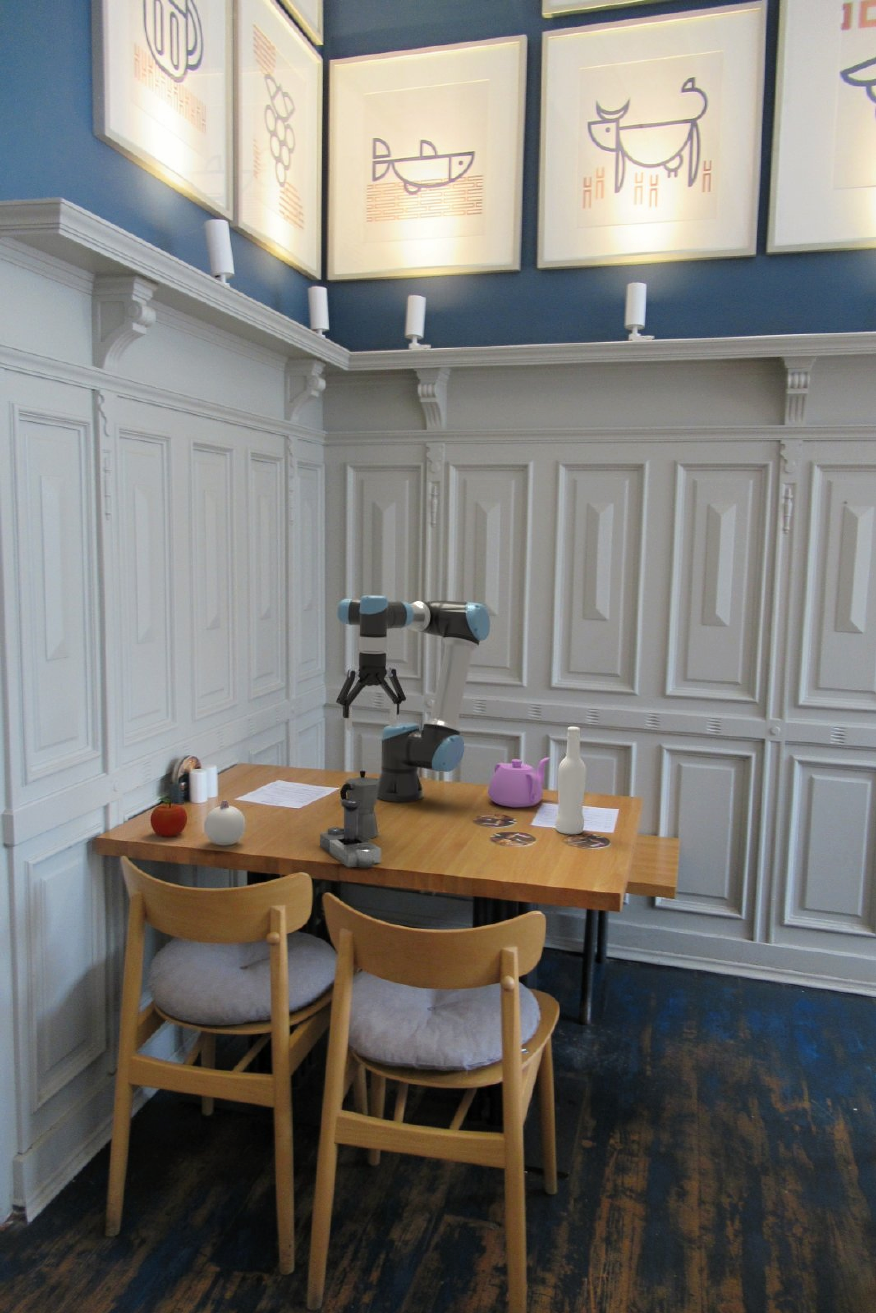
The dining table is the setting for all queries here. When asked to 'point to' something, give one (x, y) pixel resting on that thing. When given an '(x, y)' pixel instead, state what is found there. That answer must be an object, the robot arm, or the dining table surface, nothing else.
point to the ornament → (224, 824)
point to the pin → (350, 820)
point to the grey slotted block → (350, 849)
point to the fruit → (168, 819)
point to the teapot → (517, 784)
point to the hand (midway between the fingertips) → (371, 728)
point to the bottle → (571, 787)
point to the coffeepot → (363, 802)
